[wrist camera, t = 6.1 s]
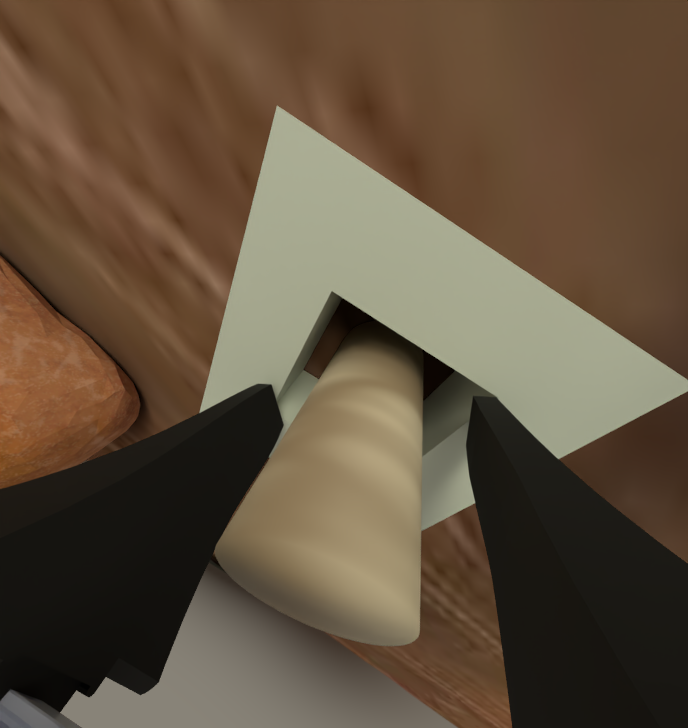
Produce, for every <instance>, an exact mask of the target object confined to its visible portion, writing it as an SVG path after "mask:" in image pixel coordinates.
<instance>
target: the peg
mask: <svg viewBox="0 0 688 728" xmlns="http://www.w3.org/2000/svg"><path fill="white" fill-rule="evenodd" d="M423 372H424V358H423V352H422V349H421V348H420V347H418V346H417V345H415V344H414V343H412V342H411V341H409V340H407V339H406V338H404V337H403V336H401V335H400V334H398V333H397V332H395V331H393V330H392V329H390V328H389V327H387V326H386V325H384V324H383V323H381V322H379V321H370V322H366V323H363V324H360V325H359V326H357V327H355V328H354V329H352V330H351V331H350V332H349V333H348V334H347V335H346V337H345V338H344V340H343V341H342V343H341V345H340V346H339V348H338V349H337V351H336V353H335V354H334V356H333V358H332V359H331V361H330V362H329V364H328V366H327V367H326V369H325V370H324V372H323V374H322V375H321V377H320V378H319V380H318V382H317V383H316V385H315V386H314V388H313V390H312V391H311V393H310V395H309V396H308V398H307V399H306V401H305V403H304V404H303V406H302V407H301V409H300V411H299V412H298V414H297V415H296V417H295V419H294V420H293V422H292V423H291V425H290V427H289V428H288V430H287V432H286V433H285V435H284V436H283V438H282V440H281V441H280V443H279V444H278V446H277V448H276V449H275V451H274V452H273V454H272V456H271V457H270V459H269V460H268V462H267V464H266V465H265V467H264V469H263V470H262V472H261V473H260V475H259V477H258V478H257V480H256V481H255V483H254V485H253V486H252V488H251V489H250V491H249V493H248V494H247V496H246V497H245V499H244V501H243V502H242V504H241V506H240V507H239V509H238V510H237V512H236V514H235V515H234V517H233V518H232V520H231V522H230V523H229V525H228V526H227V528H226V530H225V531H224V533H223V534H222V536H221V538H220V539H219V541H218V543H217V544H216V547H215V555H216V558H217V560H218V562H219V564H220V565H221V567H222V568H223V569H224V570H225V572H226V573H227V574H228V575H229V576H230V577H231V578H232V579H233V580H234V581H236V582H237V583H238V584H239V585H240V586H242V587H243V588H244V589H245V590H247V591H248V592H249V593H251V594H252V595H254V596H255V597H256V598H258V599H260V600H261V601H263V602H264V603H266V604H267V605H269V606H271V607H273V608H274V609H276V610H278V611H280V612H282V613H284V614H285V615H288V616H290V617H292V618H294V619H296V620H298V621H300V622H302V623H305V624H307V625H309V626H312V627H314V628H316V629H319V630H322V631H324V632H327V633H330V634H333V635H336V636H339V637H342V638H346V639H349V640H353V641H357V642H362V643H367V644H373V645H381V646H400V645H406V644H409V643H412V642H413V641H415V640H416V639H417V638H418V636H419V632H420V580H421V511H422V441H423Z"/></svg>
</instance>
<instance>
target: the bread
mask: <svg viewBox="0 0 688 728" xmlns="http://www.w3.org/2000/svg"><path fill="white" fill-rule="evenodd" d="M139 409H140V401H139V396H138V393H137V391H136V389H135V386H134V384H133V382H132V381H131V380H130V379H129V377H128V376H127V375H126V374H125V373H124V372H123V370H122V369H121V368H120V367H119V366H118V365H117V364H116V363H115V362H114V361H113V359H111V358H110V357H109V356H108V355H107V354H106V353H105V352H104V351H103V350H102V349H101V348H100V347H99V346H98V345H97V344H96V343H95V342H94V341H93V340H92V339H91V338H90V337H89V336H88V335H87V334H85V333H84V332H83V331H82V330H80V329H79V328H78V327H76V326H75V325H73V324H72V323H71V322H69V321H68V320H67V319H66V318H64V317H63V316H62V315H60V314H59V313H58V312H56V311H55V309H54V308H53V307H52V306H51V305H50V304H49V303H48V302H47V301H46V300H45V299H44V298H43V297H42V296H41V294H40V293H39V292H38V291H37V290H36V289H35V288H34V287H33V286H32V285H31V284H30V283H29V282H28V281H27V280H26V279H24V278H23V277H22V276H21V275H20V274H19V273H18V272H17V271H16V270H15V269H14V268H13V267H12V266H11V265H10V264H9V263H8V262H7V261H6V260H5V259H4V258H3V257H2V256H1V255H0V489H2V488H6V487H9V486H13V485H16V484H20V483H23V482H26V481H30V480H33V479H36V478H39V477H43V476H46V475H49V474H52V473H55V472H58V471H61V470H64V469H68V468H71V467H74V466H76V465H79V464H80V463H82V462H83V461H85V460H87V459H88V458H90V457H91V456H92V455H94V454H95V453H97V452H98V451H100V450H101V449H102V448H104V447H105V446H107V445H108V444H109V443H111V442H112V441H113V440H115V439H116V438H118V437H119V436H120V435H122V434H123V433H124V432H126V431H127V430H128V429H129V428H130V426H131V425H132V424H133V423H134V422H135V420H136V419H137V417H138V415H139Z"/></svg>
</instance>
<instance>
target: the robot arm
mask: <svg viewBox="0 0 688 728" xmlns="http://www.w3.org/2000/svg"><path fill="white" fill-rule="evenodd" d="M283 426H284V424H283V420H282V417H281V414H280V410H279V407H278V404H277V401H276V397H275V394H274V391H273V387H272V384H256V385H253V386H251V387H249V388H247V389H245V390H243V391H241V392H239V393H237V394H235V395H233V396H231V397H229V398H227V399H225V400H223V401H221V402H219V403H218V404H216V405H214V406H212V407H210V408H208V409H206V410H204V411H202V412H201V413H199V414H197V415H195V416H193V417H191V418H189V419H186V420H184V421H182V422H180V423H178V424H176V425H174V426H172V427H170V428H168V429H166V430H164V431H162V432H160V433H158V434H155V435H153V436H151V437H149V438H146V439H144V440H142V441H139V442H137V443H135V444H132V445H130V446H127V447H125V448H122V449H120V450H117V451H115V452H112V453H109V454H106V455H104V456H101V457H98V458H96V459H93V460H90V461H87V462H85V463H82V464H79V465H76V466H74V467H71V468H68V469H64V470H61V471H58V472H55V473H52V474H49V475H46V476H43V477H39V478H36V479H33V480H30V481H26V482H23V483H20V484H16V485H13V486H9V487H6V488H2V489H0V728H81V727H80V726H78V725H77V724H75V723H74V722H73V721H71V720H70V719H68V718H67V717H65V716H64V715H62V714H61V713H60V712H61V711H62V709H63V707H64V706H65V705H66V704H67V702H68V701H69V700H70V698H71V697H72V695H73V694H74V693H75V691H76V690H77V691H79V692H81V693H82V694H84V695H86V696H87V697H90V696H92V695H93V694H94V693H95V691H96V690H97V689H98V687H99V686H100V684H101V683H102V681H103V680H104V679H105V677H107V678H109V679H111V680H113V681H115V682H117V683H119V684H120V685H123V686H124V687H126V688H128V689H130V690H132V691H134V692H136V693H138V694H139V695H142V694H144V693H146V692H147V691H149V690H150V689H152V688H153V687H154V686H155V685H156V684H157V683H158V682H159V680H160V677H161V675H162V672H163V669H164V666H165V664H166V661H167V658H168V656H169V654H170V651H171V649H172V646H173V644H174V641H175V639H176V636H177V634H178V631H179V628H180V626H181V624H182V621H183V619H184V616H185V614H186V612H187V609H188V607H189V605H190V603H191V600H192V598H193V596H194V593H195V591H196V589H197V586H198V584H199V582H200V580H201V578H202V575H203V573H204V571H205V569H206V567H207V565H208V563H209V561H210V559H211V556H212V554H213V552H214V550H215V547H216V544H217V543H218V541H219V539H220V538H221V536H222V534H223V532H224V530H225V528H226V526H227V524H228V522H229V520H230V519H231V517H232V515H233V513H234V511H235V510H236V508H237V506H238V505H239V503H240V501H241V500H242V498H243V496H244V495H245V493H246V492H247V490H248V489H249V487H250V485H251V484H252V482H253V481H254V479H255V478H256V476H257V474H258V473H259V471H260V470H261V468H262V466H263V465H264V463H265V462H266V460H267V458H268V457H269V455H270V453H271V452H272V450H273V448H274V446H275V444H276V442H277V440H278V438H279V436H280V433H281V431H282V429H283ZM466 452H467V462H468V470H469V477H470V482H471V486H472V491H473V495H474V499H475V504H476V508H477V512H478V516H479V521H480V525H481V529H482V533H483V538H484V542H485V546H486V551H487V555H488V559H489V564H490V569H491V574H492V580H493V587H494V593H495V600H496V607H497V614H498V621H499V628H500V635H501V643H502V650H503V657H504V665H505V672H506V680H507V687H508V696H509V704H510V712H511V720H512V728H688V564H687V563H686V562H685V561H683V560H682V559H681V558H679V557H678V556H677V555H675V554H674V553H673V552H671V551H670V550H668V549H667V548H666V547H664V546H663V545H662V544H660V543H659V542H658V541H657V540H655V539H654V538H653V537H651V536H650V535H649V534H648V533H646V532H645V531H644V530H643V529H641V528H640V527H639V526H637V525H636V524H635V523H634V522H632V521H631V520H630V519H628V518H627V517H626V516H625V515H623V514H622V513H621V512H620V511H618V510H617V509H616V508H614V507H613V506H612V505H611V504H610V503H608V502H607V501H606V500H605V499H603V498H602V497H601V496H600V495H599V494H597V493H596V492H595V491H594V490H593V489H592V488H590V487H589V486H588V485H587V484H586V483H585V482H584V481H582V480H581V479H580V478H579V477H578V476H577V475H575V474H574V473H573V472H572V471H571V470H570V469H569V468H567V467H566V466H565V465H564V464H563V463H562V462H561V461H560V460H559V459H558V458H556V457H555V456H554V455H553V454H552V453H551V452H550V451H549V450H548V449H547V448H546V447H545V446H544V445H543V444H542V443H541V442H540V441H539V440H538V439H537V438H536V437H535V436H534V435H533V434H532V433H531V432H530V431H529V430H528V429H527V428H526V427H525V426H524V425H523V424H522V423H521V422H520V421H519V420H518V419H517V418H516V417H515V416H514V415H513V414H512V413H511V412H510V411H509V410H508V409H507V408H506V407H505V406H504V405H503V404H502V403H501V402H500V401H499V400H498V399H497V398H496V397H486V396H473V399H472V406H471V413H470V420H469V427H468V433H467V440H466Z"/></svg>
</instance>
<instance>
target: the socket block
mask: <svg viewBox="0 0 688 728" xmlns="http://www.w3.org/2000/svg"><path fill="white" fill-rule="evenodd" d="M342 298H344V299H345V300H347V301H348V302H350V303H351V304H353V305H355V306H356V307H358V308H359V309H361V310H362V311H364V312H365V313H367V314H369V315H370V316H372V317H373V318H375V319H376V320H378V321H379V322H381V323H383V324H384V325H386V326H387V327H389V328H390V329H392V330H393V331H395V332H397V333H398V334H400V335H401V336H403V337H404V338H406V339H407V340H409V341H411V342H412V343H414V344H415V345H417V346H418V347H420V348H422V349H423V350H425V351H426V352H428V353H429V354H431V355H432V356H434V357H436V358H437V359H439V360H440V361H442V362H443V363H445V364H446V365H448V366H450V367H451V368H453V369H454V370H455V371H454V372H453V373H452V374H451V375H450V376H449V377H448V378H447V379H446V380H445V381H444V382H443V383H442V384H441V385H440V386H439V387H438V388H437V389H436V390H435V391H433V392H432V393H431V394H430V395H429V396H428V397H427V398H426V399H425V400H424V401H423V441H422V511H421V531H423V530H424V529H426V528H428V527H430V526H432V525H434V524H436V523H438V522H440V521H442V520H444V519H445V518H447V517H449V516H451V515H453V514H455V513H457V512H459V511H461V510H463V509H464V508H466V507H468V506H470V505H472V504H474V503H475V499H474V495H473V491H472V486H471V482H470V477H469V470H468V462H467V452H466V440H467V433H468V427H469V420H470V413H471V406H472V399H473V396H486V397H496V398H497V399H498V400H499V401H500V402H501V403H502V404H503V405H504V406H505V407H506V408H507V409H508V410H509V411H510V412H511V413H512V414H513V415H514V416H515V417H516V418H517V419H518V420H519V421H520V422H521V423H522V424H523V425H524V426H525V427H526V428H527V429H528V430H529V431H530V432H531V433H532V434H533V435H534V436H535V437H536V438H537V439H538V440H539V441H540V442H541V443H542V444H543V445H544V446H545V447H546V448H547V449H548V450H549V451H550V452H551V453H552V454H553V455H554V456H555V457H556V458H558V459H560V458H562V457H563V456H565V455H567V454H569V453H571V452H573V451H575V450H577V449H579V448H581V447H583V446H584V445H586V444H588V443H590V442H592V441H594V440H596V439H598V438H600V437H602V436H603V435H605V434H607V433H609V432H611V431H613V430H615V429H617V428H619V427H621V426H623V425H624V424H626V423H628V422H630V421H632V420H634V419H636V418H638V417H640V416H642V415H643V414H645V413H647V412H649V411H651V410H653V409H655V408H657V407H659V406H661V405H662V404H664V403H666V402H668V401H670V400H672V399H674V398H676V397H678V396H680V395H682V394H683V393H685V392H687V391H688V380H687V379H686V378H684V377H683V376H681V375H680V374H678V373H677V372H675V371H674V370H672V369H671V368H669V367H668V366H666V365H665V364H663V363H662V362H660V361H659V360H657V359H656V358H654V357H653V356H651V355H650V354H648V353H647V352H645V351H644V350H642V349H641V348H639V347H638V346H636V345H635V344H633V343H632V342H630V341H629V340H627V339H626V338H624V337H623V336H621V335H620V334H618V333H617V332H615V331H614V330H612V329H611V328H609V327H608V326H606V325H605V324H603V323H602V322H600V321H599V320H597V319H596V318H594V317H593V316H591V315H590V314H588V313H587V312H585V311H584V310H582V309H581V308H579V307H578V306H576V305H575V304H573V303H572V302H570V301H569V300H567V299H566V298H564V297H563V296H561V295H560V294H558V293H557V292H555V291H554V290H552V289H551V288H549V287H548V286H546V285H545V284H543V283H542V282H540V281H539V280H537V279H536V278H534V277H533V276H531V275H530V274H528V273H527V272H525V271H524V270H522V269H521V268H519V267H518V266H516V265H515V264H513V263H512V262H510V261H509V260H507V259H506V258H504V257H503V256H501V255H500V254H498V253H497V252H495V251H494V250H492V249H491V248H489V247H488V246H486V245H485V244H483V243H482V242H480V241H479V240H477V239H476V238H474V237H473V236H471V235H470V234H468V233H467V232H466V231H464V230H463V229H461V228H460V227H458V226H457V225H455V224H454V223H452V222H451V221H449V220H448V219H446V218H445V217H443V216H442V215H440V214H439V213H437V212H436V211H434V210H433V209H431V208H430V207H428V206H427V205H425V204H424V203H422V202H421V201H419V200H418V199H416V198H415V197H413V196H412V195H410V194H409V193H407V192H406V191H404V190H403V189H401V188H400V187H398V186H397V185H395V184H394V183H392V182H391V181H389V180H388V179H386V178H385V177H383V176H382V175H380V174H379V173H377V172H376V171H374V170H373V169H371V168H370V167H368V166H367V165H365V164H364V163H362V162H361V161H359V160H358V159H356V158H355V157H353V156H352V155H350V154H349V153H347V152H346V151H344V150H343V149H341V148H340V147H338V146H337V145H335V144H334V143H332V142H331V141H329V140H328V139H326V138H325V137H323V136H322V135H320V134H319V133H317V132H316V131H314V130H313V129H311V128H310V127H308V126H307V125H305V124H304V123H302V122H301V121H299V120H298V119H296V118H295V117H293V116H292V115H290V114H289V113H287V112H286V111H284V110H283V109H281V108H280V107H278V106H277V108H276V112H275V116H274V120H273V124H272V128H271V132H270V136H269V140H268V144H267V148H266V152H265V156H264V160H263V164H262V168H261V172H260V175H259V179H258V183H257V187H256V191H255V195H254V199H253V203H252V207H251V211H250V215H249V219H248V223H247V227H246V231H245V235H244V239H243V243H242V247H241V251H240V255H239V259H238V263H237V267H236V271H235V275H234V278H233V282H232V286H231V290H230V294H229V298H228V302H227V306H226V310H225V314H224V318H223V322H222V326H221V330H220V334H219V338H218V342H217V346H216V350H215V354H214V358H213V362H212V366H211V370H210V374H209V378H208V381H207V385H206V389H205V393H204V397H203V401H202V405H201V409H200V413H201V412H202V411H204V410H206V409H208V408H210V407H212V406H214V405H216V404H218V403H219V402H221V401H223V400H225V399H227V398H229V397H231V396H233V395H235V394H237V393H239V392H241V391H243V390H245V389H247V388H249V387H251V386H253V385H256V384H272V387H273V391H274V394H275V397H276V401H277V404H278V407H279V410H280V414H281V417H282V420H283V424H284V426H283V429H282V431H281V433H280V436H279V438H278V440H277V442H276V444H275V446H274V448H273V450H272V452H271V453H270V455H269V458H270V457H271V456H272V454H273V452H274V451H275V449H276V448H277V446H278V444H279V443H280V441H281V440H282V438H283V436H284V435H285V433H286V432H287V430H288V428H289V427H290V425H291V423H292V422H293V420H294V419H295V417H296V415H297V414H298V412H299V411H300V409H301V407H302V406H303V404H304V403H305V401H306V399H307V398H308V396H309V395H310V393H311V391H312V390H313V388H314V386H315V385H316V383H317V382H318V380H319V379H317V378H316V377H314V376H313V375H311V374H309V373H308V372H306V371H305V370H303V369H304V368H305V366H306V364H307V362H308V360H309V358H310V357H311V355H312V353H313V351H314V349H315V347H316V346H317V344H318V342H319V340H320V338H321V336H322V335H323V333H324V331H325V329H326V327H327V326H328V324H329V322H330V320H331V318H332V316H333V315H334V313H335V311H336V309H337V307H338V305H339V304H340V302H341V300H342Z"/></svg>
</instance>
